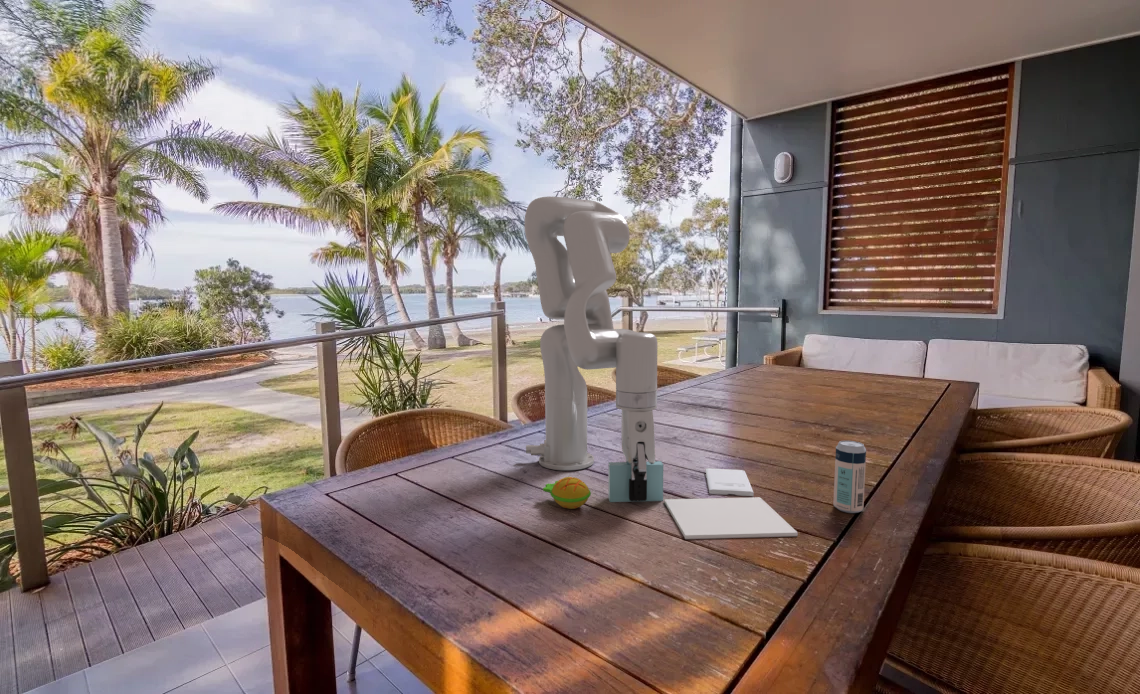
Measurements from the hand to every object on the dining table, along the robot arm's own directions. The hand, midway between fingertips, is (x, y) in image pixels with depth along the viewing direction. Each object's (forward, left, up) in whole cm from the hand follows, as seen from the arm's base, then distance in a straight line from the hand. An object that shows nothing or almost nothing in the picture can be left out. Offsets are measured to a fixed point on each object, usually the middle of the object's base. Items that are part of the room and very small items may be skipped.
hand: (635, 494), depth 102 cm
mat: (+14, -9, -1) cm, 17 cm away
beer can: (+37, -7, -1) cm, 38 cm away
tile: (0, 0, -1) cm, 1 cm away
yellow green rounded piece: (-13, -2, -1) cm, 13 cm away
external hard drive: (+20, +7, -2) cm, 21 cm away
